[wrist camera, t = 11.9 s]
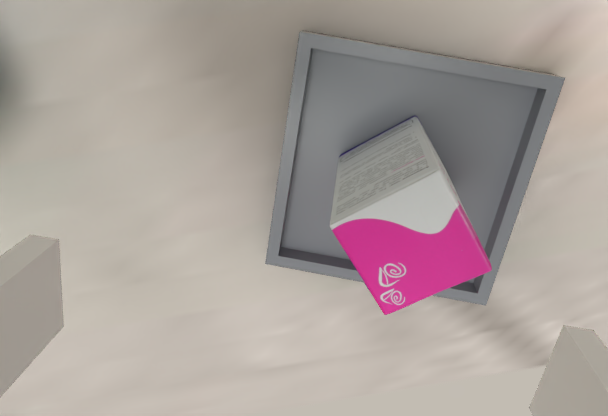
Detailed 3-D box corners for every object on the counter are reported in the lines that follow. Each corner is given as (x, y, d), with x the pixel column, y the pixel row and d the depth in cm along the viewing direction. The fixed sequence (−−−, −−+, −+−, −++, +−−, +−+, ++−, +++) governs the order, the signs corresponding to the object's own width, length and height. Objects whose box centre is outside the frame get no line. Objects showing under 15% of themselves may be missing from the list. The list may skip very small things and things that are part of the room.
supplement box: (334, 156, 33) (325, 223, 23) (416, 112, 32) (446, 161, 21) (375, 226, 35) (384, 320, 24) (455, 188, 33) (502, 269, 23)
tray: (303, 30, 31) (299, 31, 29) (552, 74, 31) (565, 77, 29) (269, 251, 37) (265, 263, 35) (479, 290, 36) (485, 305, 35)
